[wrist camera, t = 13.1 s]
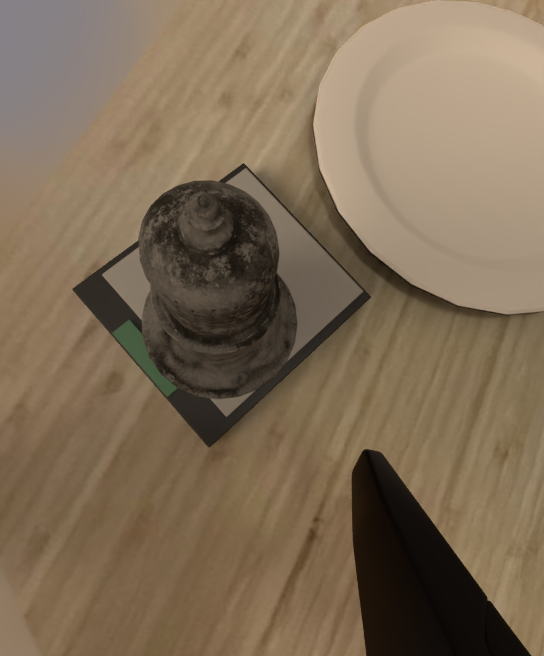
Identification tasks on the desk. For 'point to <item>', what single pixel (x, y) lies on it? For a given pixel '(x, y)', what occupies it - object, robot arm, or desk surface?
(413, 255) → the plate
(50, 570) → the desk surface
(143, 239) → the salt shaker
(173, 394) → the scale
